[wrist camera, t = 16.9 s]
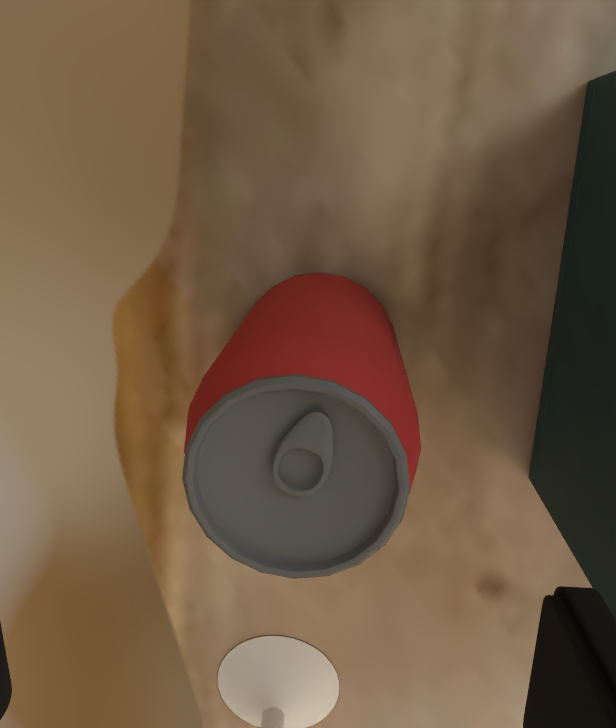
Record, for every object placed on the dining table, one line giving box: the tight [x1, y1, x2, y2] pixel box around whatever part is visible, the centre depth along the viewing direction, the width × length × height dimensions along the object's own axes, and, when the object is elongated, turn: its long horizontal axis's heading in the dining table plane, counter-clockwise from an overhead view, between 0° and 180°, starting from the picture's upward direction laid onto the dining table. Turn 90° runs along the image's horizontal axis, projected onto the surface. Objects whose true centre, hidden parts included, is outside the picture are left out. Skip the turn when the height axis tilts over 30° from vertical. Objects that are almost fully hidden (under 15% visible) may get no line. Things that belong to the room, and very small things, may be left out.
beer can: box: [182, 273, 421, 579], centre depth 20 cm, size 7×7×12 cm
